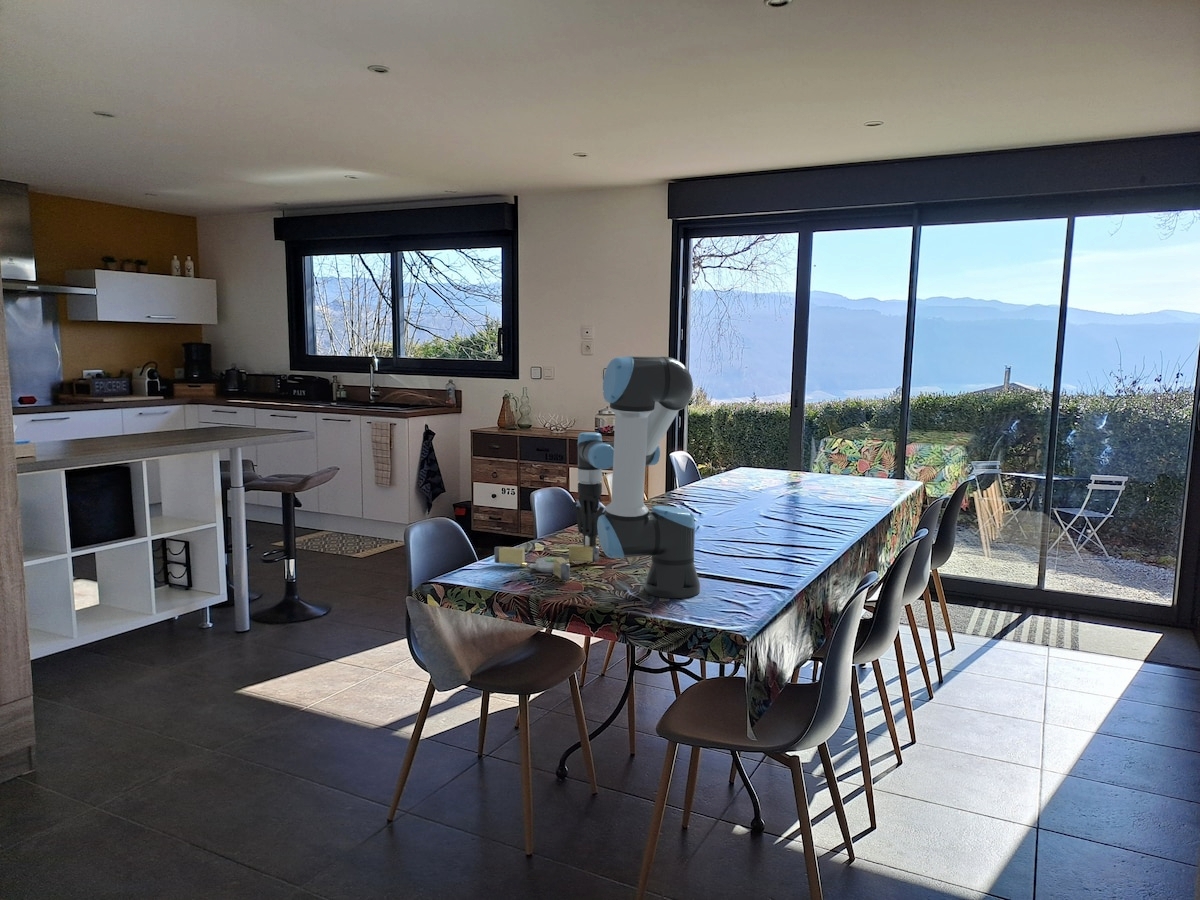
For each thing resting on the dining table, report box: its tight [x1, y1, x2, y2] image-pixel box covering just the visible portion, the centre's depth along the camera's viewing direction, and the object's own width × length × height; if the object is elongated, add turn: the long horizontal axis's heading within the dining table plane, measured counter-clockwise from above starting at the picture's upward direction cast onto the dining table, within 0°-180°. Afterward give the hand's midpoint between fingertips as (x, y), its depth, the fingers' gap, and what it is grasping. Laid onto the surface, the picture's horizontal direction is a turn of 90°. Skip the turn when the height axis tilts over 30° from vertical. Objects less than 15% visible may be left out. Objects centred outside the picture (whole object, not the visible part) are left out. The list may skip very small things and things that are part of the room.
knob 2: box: [566, 544, 600, 564], centre depth 248 cm, size 10×3×6 cm, turn 80°
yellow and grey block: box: [494, 546, 528, 568], centre depth 245 cm, size 10×3×6 cm, turn 78°
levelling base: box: [529, 556, 555, 575], centre depth 243 cm, size 12×11×3 cm
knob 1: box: [553, 556, 571, 581], centre depth 231 cm, size 10×3×6 cm, turn 18°
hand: (589, 555), depth 251 cm, fingers closed
